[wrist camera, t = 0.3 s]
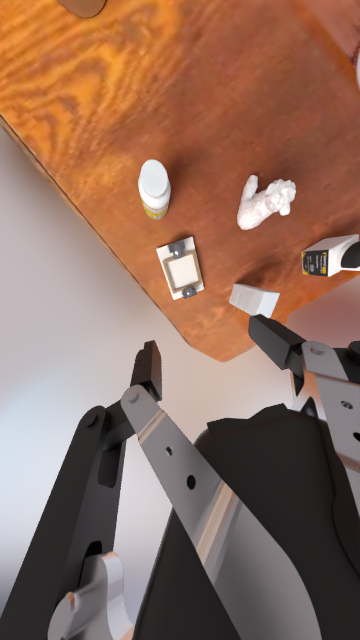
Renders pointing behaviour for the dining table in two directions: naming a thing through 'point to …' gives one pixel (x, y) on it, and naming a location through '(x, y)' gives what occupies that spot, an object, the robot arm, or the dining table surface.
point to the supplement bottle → (154, 189)
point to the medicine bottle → (332, 256)
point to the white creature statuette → (264, 201)
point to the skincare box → (254, 299)
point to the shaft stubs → (178, 253)
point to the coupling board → (181, 269)
